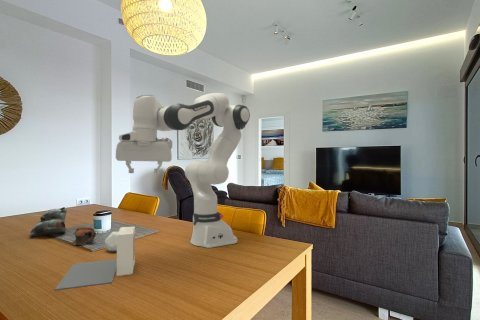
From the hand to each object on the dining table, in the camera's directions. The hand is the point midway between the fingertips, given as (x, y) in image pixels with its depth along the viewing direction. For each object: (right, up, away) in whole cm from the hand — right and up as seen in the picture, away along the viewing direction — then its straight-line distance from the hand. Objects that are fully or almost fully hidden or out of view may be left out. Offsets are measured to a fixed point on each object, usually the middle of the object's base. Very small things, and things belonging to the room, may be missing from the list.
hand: (144, 173), depth 99 cm
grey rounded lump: (-62, -34, +35) cm, 79 cm away
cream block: (-4, -34, -6) cm, 35 cm away
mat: (-15, -34, -9) cm, 39 cm away
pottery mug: (-36, -34, +23) cm, 55 cm away
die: (-17, -34, +13) cm, 41 cm away
